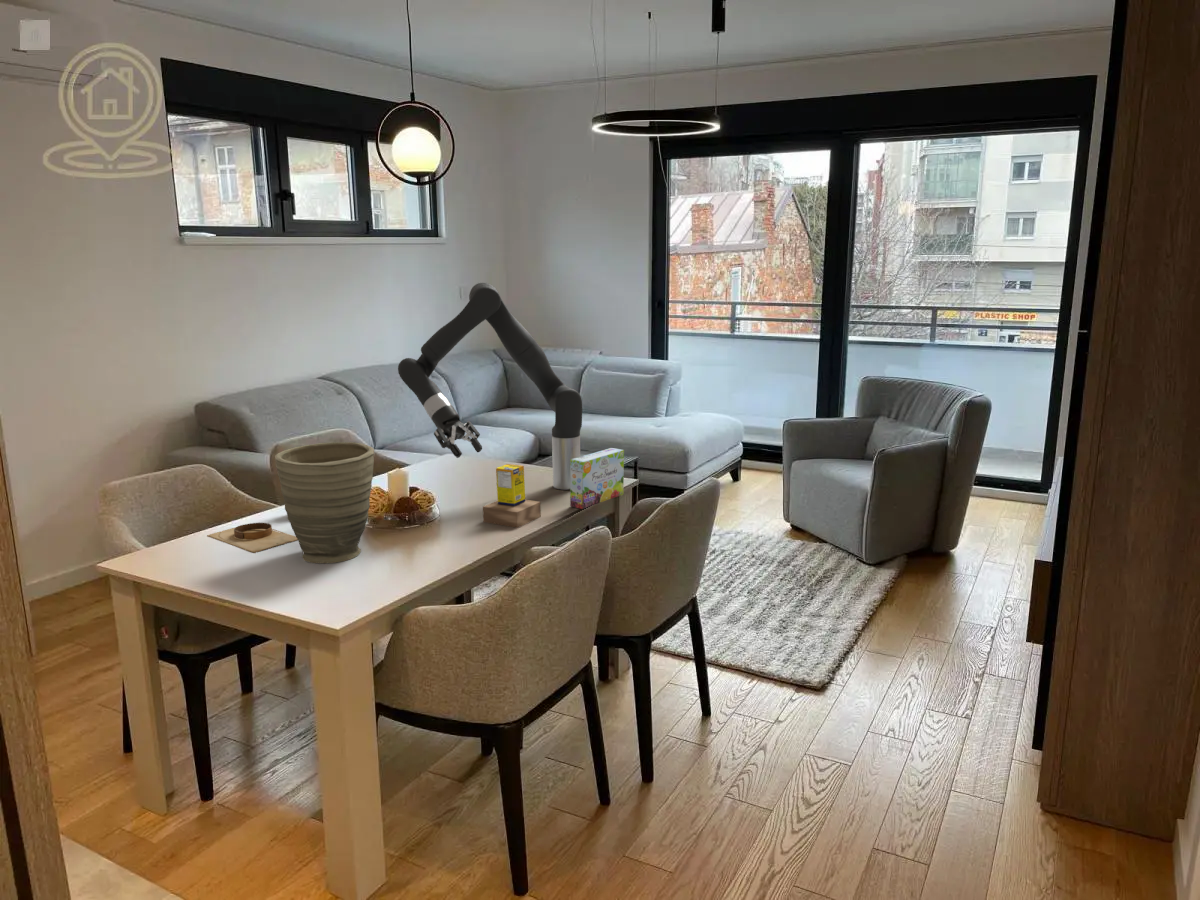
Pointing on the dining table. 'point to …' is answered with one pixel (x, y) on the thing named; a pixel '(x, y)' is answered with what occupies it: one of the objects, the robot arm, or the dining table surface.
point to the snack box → (596, 477)
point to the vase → (327, 497)
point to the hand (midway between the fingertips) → (470, 453)
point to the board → (253, 537)
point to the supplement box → (510, 484)
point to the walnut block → (512, 513)
